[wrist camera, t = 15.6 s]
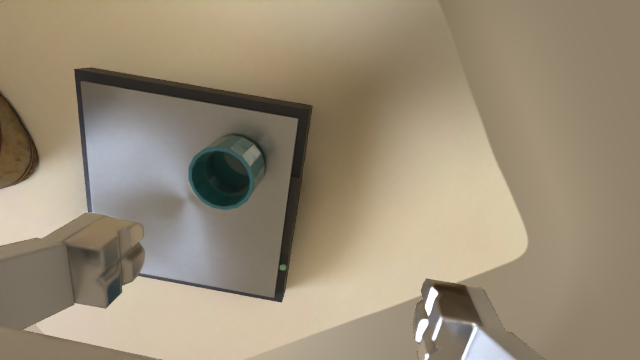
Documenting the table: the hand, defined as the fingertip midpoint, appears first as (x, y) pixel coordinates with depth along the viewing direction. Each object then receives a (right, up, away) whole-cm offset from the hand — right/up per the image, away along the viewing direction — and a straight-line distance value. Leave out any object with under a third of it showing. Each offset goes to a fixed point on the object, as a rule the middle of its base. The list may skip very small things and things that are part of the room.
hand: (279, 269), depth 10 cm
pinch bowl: (-8, +4, +28) cm, 30 cm away
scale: (-14, +1, +33) cm, 36 cm away
